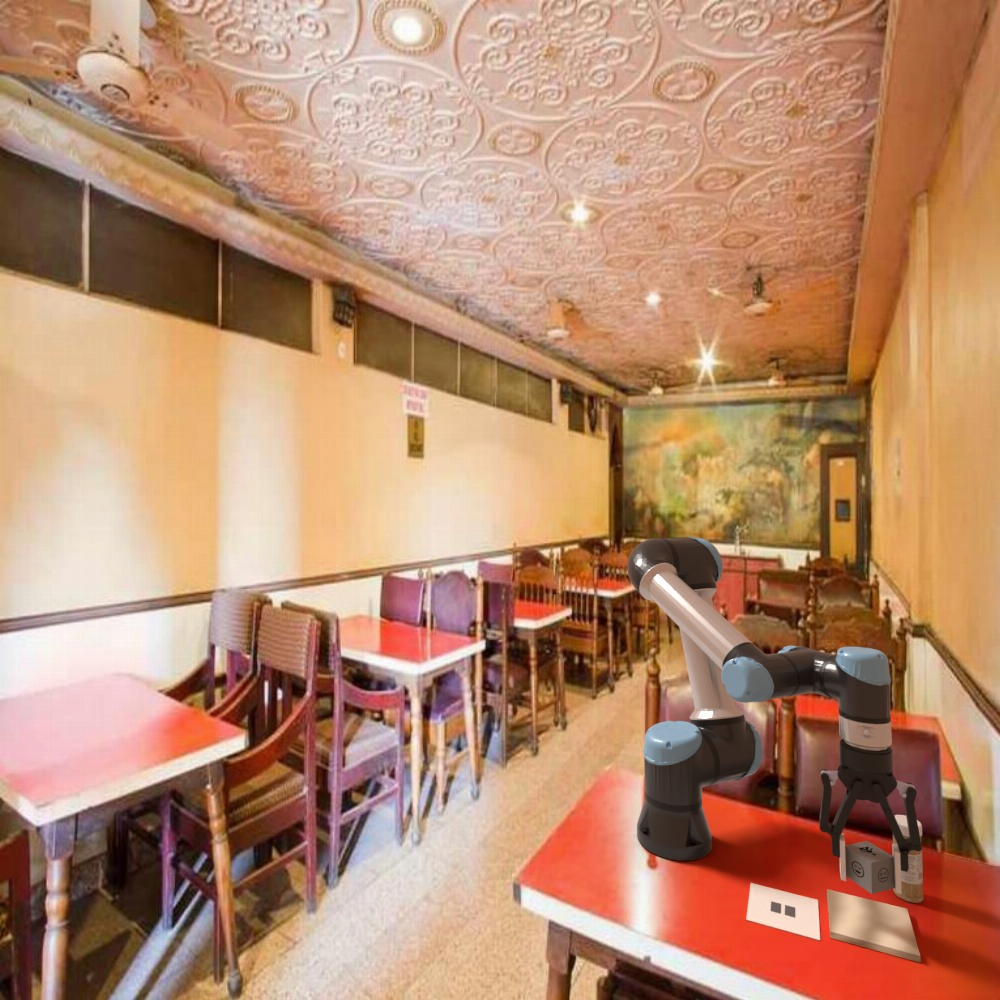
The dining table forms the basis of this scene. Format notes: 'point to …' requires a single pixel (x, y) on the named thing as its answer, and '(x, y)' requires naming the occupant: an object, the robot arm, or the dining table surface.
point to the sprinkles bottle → (911, 867)
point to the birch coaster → (872, 925)
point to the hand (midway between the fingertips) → (869, 882)
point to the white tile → (784, 911)
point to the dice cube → (870, 867)
